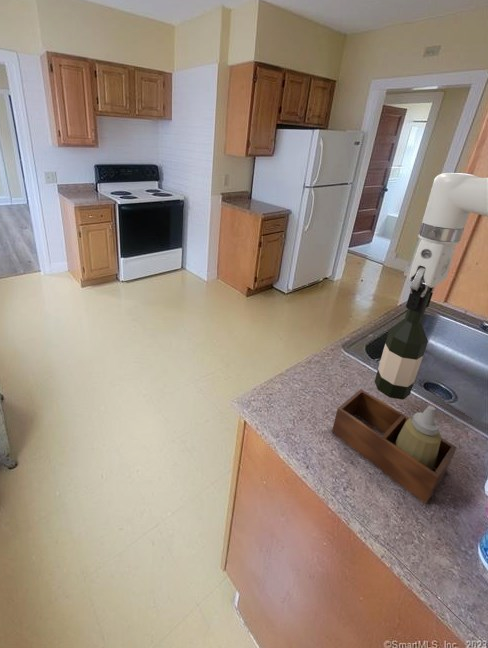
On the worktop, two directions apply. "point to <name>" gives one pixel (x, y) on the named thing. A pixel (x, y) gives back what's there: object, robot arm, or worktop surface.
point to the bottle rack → (388, 444)
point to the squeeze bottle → (421, 437)
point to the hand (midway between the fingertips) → (417, 306)
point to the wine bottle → (402, 355)
